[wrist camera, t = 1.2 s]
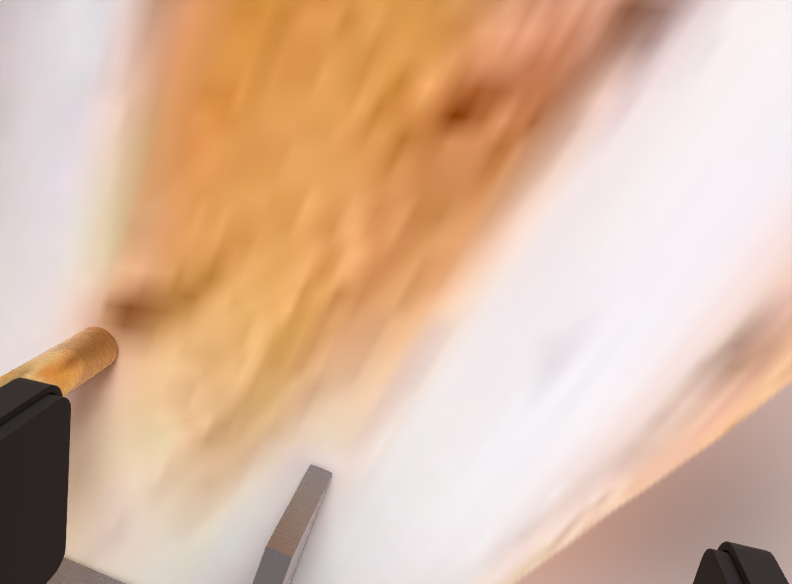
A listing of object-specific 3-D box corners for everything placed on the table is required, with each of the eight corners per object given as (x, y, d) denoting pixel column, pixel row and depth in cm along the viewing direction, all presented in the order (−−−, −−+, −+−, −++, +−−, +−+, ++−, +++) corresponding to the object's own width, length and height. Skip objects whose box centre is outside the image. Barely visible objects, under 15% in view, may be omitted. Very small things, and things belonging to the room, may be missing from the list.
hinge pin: (60, 363, 38) (-81, 449, 29) (74, 305, 37) (-69, 376, 28) (120, 387, 38) (-4, 482, 29) (134, 330, 37) (10, 409, 28)
